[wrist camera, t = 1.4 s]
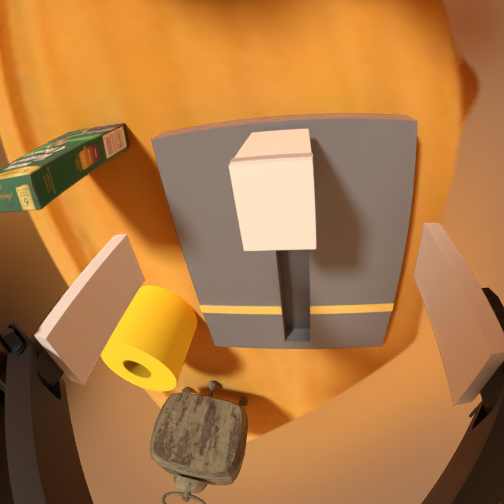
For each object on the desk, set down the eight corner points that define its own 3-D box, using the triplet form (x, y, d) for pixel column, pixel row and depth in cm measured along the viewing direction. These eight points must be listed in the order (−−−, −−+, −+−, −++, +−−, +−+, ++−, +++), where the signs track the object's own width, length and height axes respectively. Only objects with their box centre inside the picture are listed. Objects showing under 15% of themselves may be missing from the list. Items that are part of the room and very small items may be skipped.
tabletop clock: (179, 389, 52) (143, 504, 32) (172, 365, 47) (125, 498, 27) (253, 403, 51) (230, 526, 31) (256, 381, 45) (229, 526, 25)
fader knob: (256, 125, 22) (227, 165, 14) (307, 121, 21) (313, 159, 13) (264, 182, 25) (243, 251, 17) (312, 180, 24) (316, 249, 16)
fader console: (163, 132, 24) (150, 140, 22) (406, 115, 20) (418, 121, 18) (219, 331, 39) (214, 347, 37) (379, 330, 35) (382, 347, 32)
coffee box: (128, 120, 24) (26, 173, 13) (132, 148, 25) (39, 215, 15) (68, 130, 25) (-26, 183, 14) (72, 155, 27) (-16, 215, 16)
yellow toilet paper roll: (156, 274, 34) (123, 333, 27) (212, 324, 38) (193, 385, 31) (118, 301, 39) (88, 352, 31) (167, 343, 43) (147, 394, 35)
